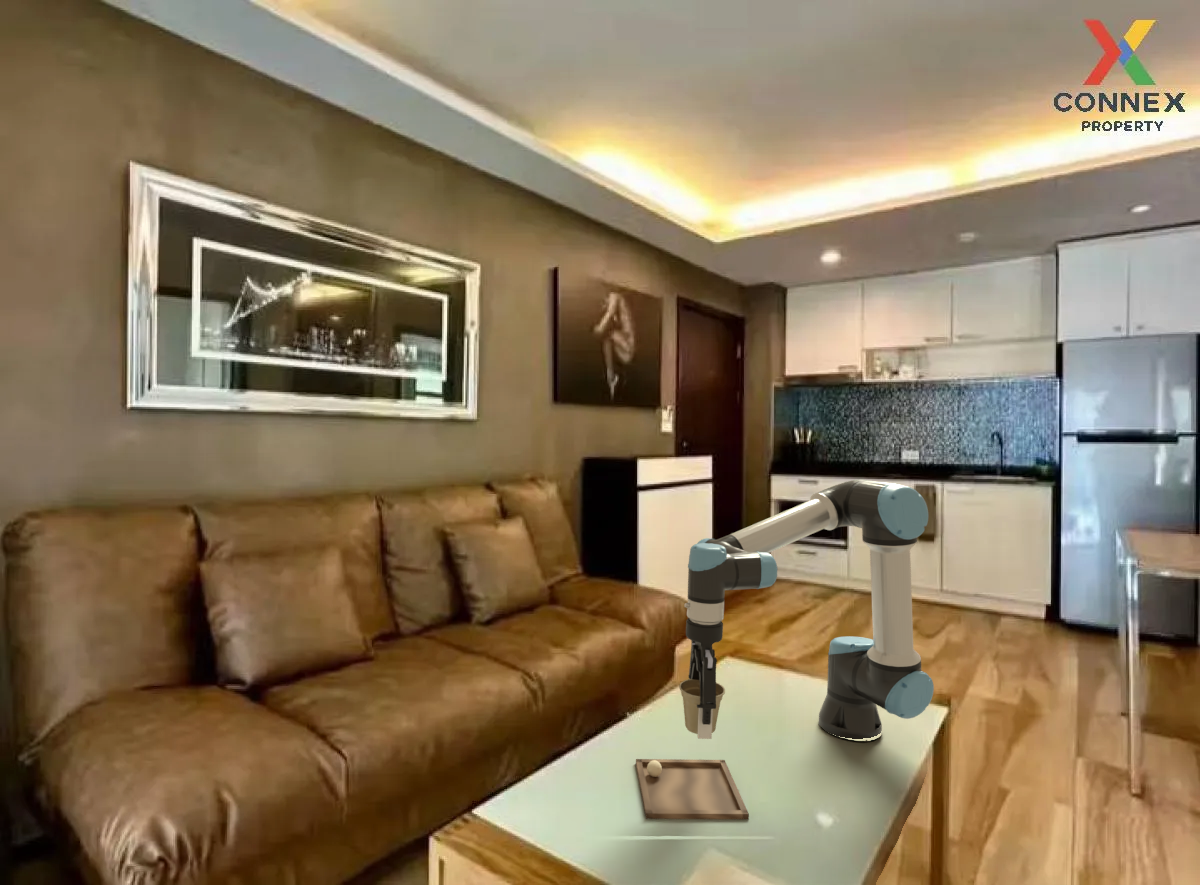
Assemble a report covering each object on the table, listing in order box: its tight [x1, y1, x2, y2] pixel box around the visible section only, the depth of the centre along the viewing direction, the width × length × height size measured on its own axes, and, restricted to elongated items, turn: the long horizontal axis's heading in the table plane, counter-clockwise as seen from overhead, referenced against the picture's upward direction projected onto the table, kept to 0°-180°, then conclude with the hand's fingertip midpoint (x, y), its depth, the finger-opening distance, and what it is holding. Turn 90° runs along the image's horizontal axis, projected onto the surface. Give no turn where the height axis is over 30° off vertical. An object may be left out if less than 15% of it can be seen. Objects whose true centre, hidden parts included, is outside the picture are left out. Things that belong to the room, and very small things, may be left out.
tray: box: [635, 758, 750, 820], centre depth 136 cm, size 20×20×2 cm
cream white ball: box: [647, 760, 662, 777], centre depth 140 cm, size 3×3×3 cm
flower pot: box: [678, 678, 726, 735], centre depth 135 cm, size 9×9×9 cm
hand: (699, 727), depth 135 cm, fingers closed on flower pot, 8 cm apart
